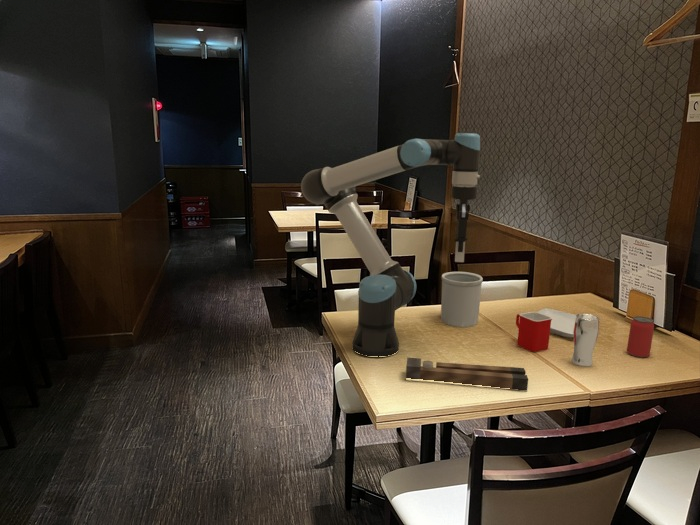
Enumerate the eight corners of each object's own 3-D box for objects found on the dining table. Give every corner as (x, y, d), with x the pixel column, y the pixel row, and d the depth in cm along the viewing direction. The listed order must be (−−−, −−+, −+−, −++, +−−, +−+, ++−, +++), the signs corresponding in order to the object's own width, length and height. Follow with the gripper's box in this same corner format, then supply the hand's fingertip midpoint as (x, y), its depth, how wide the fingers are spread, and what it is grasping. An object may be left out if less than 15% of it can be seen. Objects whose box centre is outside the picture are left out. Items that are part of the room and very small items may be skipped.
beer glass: (587, 358, 162) (593, 313, 159) (598, 367, 156) (605, 320, 152) (565, 358, 162) (571, 312, 159) (575, 367, 155) (581, 320, 152)
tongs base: (405, 380, 145) (406, 365, 144) (406, 371, 151) (407, 356, 150) (527, 391, 140) (528, 375, 139) (523, 381, 146) (525, 366, 145)
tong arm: (436, 377, 147) (436, 365, 146) (435, 373, 149) (436, 362, 149) (524, 383, 144) (525, 371, 143) (522, 379, 147) (523, 367, 146)
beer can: (637, 359, 162) (643, 323, 160) (621, 351, 169) (626, 316, 166) (654, 357, 164) (660, 321, 161) (638, 349, 170) (643, 314, 168)
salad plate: (517, 326, 191) (517, 317, 190) (545, 314, 204) (546, 306, 204) (572, 343, 175) (574, 334, 174) (599, 329, 189) (601, 320, 188)
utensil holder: (471, 330, 184) (475, 283, 180) (433, 322, 192) (435, 277, 188) (484, 319, 197) (488, 275, 193) (447, 312, 204) (450, 269, 200)
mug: (551, 348, 169) (554, 318, 167) (533, 353, 166) (536, 322, 163) (523, 336, 180) (526, 307, 177) (506, 340, 176) (508, 310, 174)
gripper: (478, 187, 149) (472, 267, 154) (475, 184, 161) (470, 257, 167) (452, 187, 150) (447, 265, 155) (451, 183, 163) (446, 256, 168)
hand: (459, 261), depth 161 cm, fingers closed
